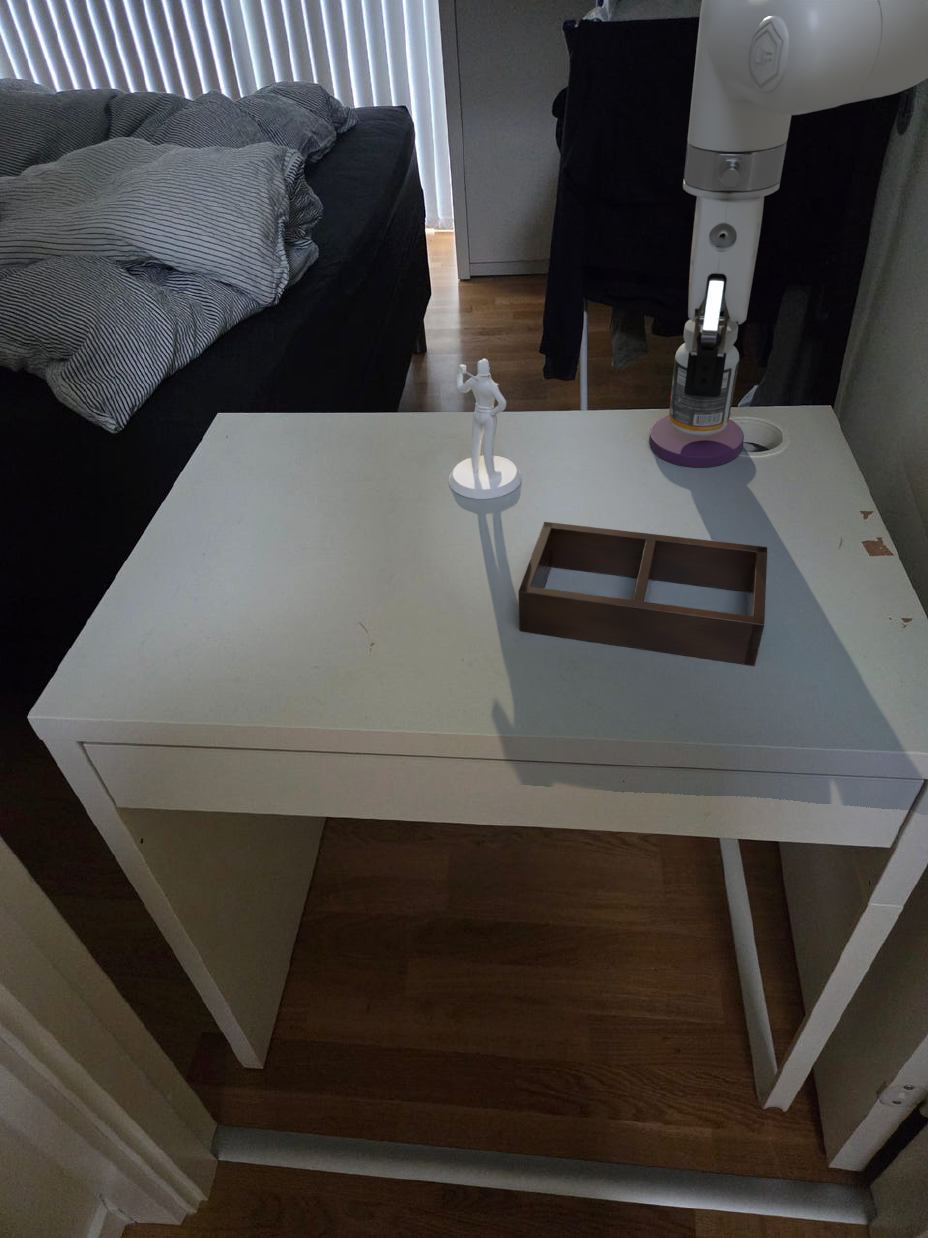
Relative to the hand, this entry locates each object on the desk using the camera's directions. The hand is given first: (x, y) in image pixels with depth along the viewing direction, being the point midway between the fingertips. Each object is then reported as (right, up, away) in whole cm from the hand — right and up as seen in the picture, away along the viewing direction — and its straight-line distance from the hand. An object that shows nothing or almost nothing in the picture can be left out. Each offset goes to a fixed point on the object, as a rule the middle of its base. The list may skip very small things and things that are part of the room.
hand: (705, 377), depth 79 cm
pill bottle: (0, -4, +3) cm, 5 cm away
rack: (-9, -22, -13) cm, 27 cm away
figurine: (-21, -9, +3) cm, 23 cm away
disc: (0, -5, +5) cm, 7 cm away
